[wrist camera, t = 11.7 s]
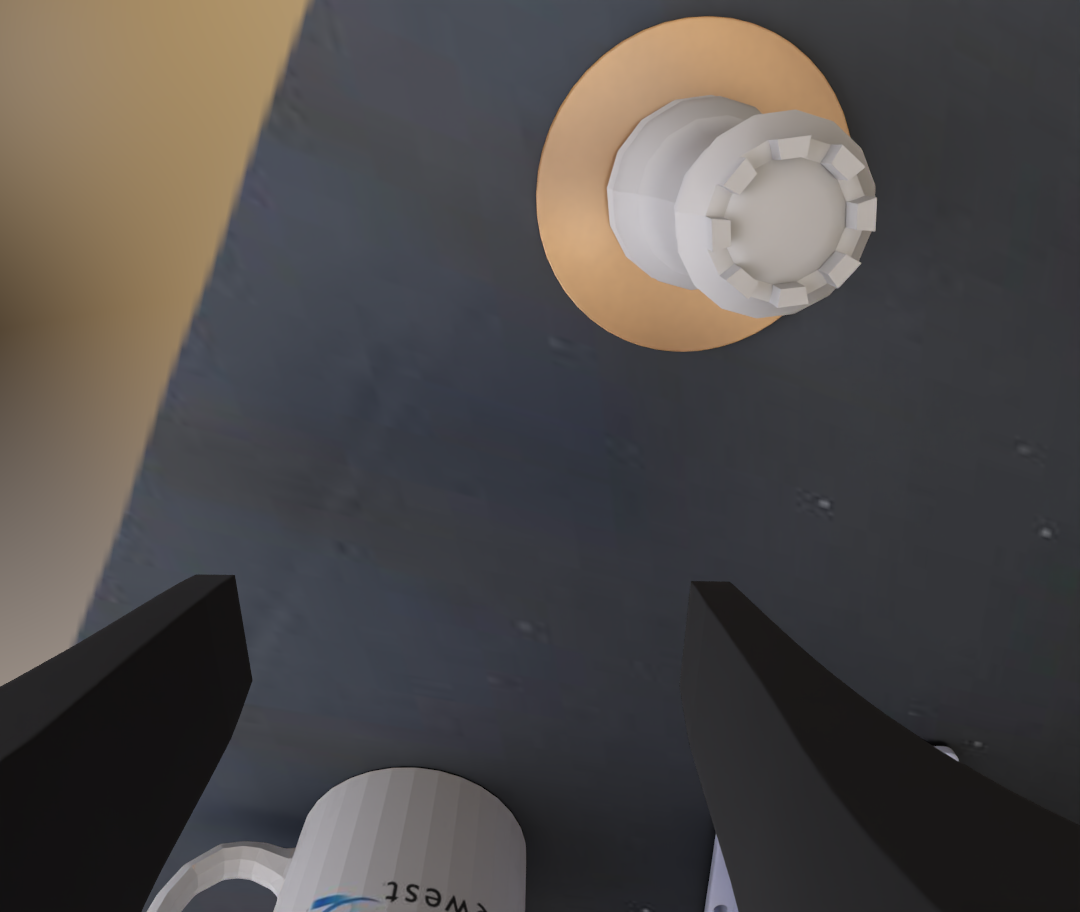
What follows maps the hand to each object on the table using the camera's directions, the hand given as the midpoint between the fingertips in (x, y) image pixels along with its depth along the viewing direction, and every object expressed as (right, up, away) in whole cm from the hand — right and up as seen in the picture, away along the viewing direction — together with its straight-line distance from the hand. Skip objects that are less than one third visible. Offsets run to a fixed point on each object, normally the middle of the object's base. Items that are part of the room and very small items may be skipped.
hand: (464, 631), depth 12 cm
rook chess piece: (+5, +9, +7) cm, 13 cm away
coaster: (+5, +9, +7) cm, 13 cm away
